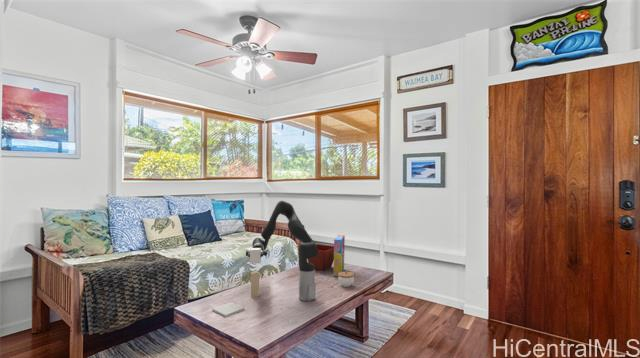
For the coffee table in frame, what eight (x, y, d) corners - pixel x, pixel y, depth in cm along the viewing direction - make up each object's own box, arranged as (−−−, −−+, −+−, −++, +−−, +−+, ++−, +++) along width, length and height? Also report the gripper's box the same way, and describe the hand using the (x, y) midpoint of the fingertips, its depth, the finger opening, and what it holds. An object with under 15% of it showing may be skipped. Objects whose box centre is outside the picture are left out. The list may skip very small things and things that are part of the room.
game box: (340, 277, 226) (341, 240, 226) (333, 276, 227) (333, 239, 227) (344, 269, 246) (344, 235, 246) (337, 268, 247) (337, 234, 247)
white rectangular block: (261, 260, 191) (261, 247, 191) (260, 263, 185) (260, 250, 185) (250, 260, 191) (251, 247, 191) (249, 263, 185) (249, 250, 185)
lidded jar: (353, 288, 203) (354, 274, 203) (337, 287, 204) (337, 273, 204) (354, 283, 213) (354, 269, 213) (338, 282, 214) (338, 268, 215)
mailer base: (259, 293, 191) (259, 271, 191) (258, 296, 186) (258, 273, 186) (251, 293, 190) (251, 271, 190) (250, 296, 185) (251, 273, 185)
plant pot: (304, 268, 245) (304, 247, 245) (316, 263, 261) (317, 243, 261) (324, 273, 235) (325, 251, 235) (336, 267, 251) (337, 246, 251)
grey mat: (244, 309, 167) (244, 307, 167) (225, 316, 158) (225, 315, 158) (231, 303, 175) (231, 301, 175) (212, 310, 165) (212, 308, 165)
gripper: (246, 243, 201) (243, 249, 185) (268, 243, 203) (267, 249, 186) (246, 255, 201) (243, 262, 185) (268, 255, 203) (267, 261, 186)
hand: (255, 255), depth 186 cm, fingers closed on white rectangular block, 6 cm apart
